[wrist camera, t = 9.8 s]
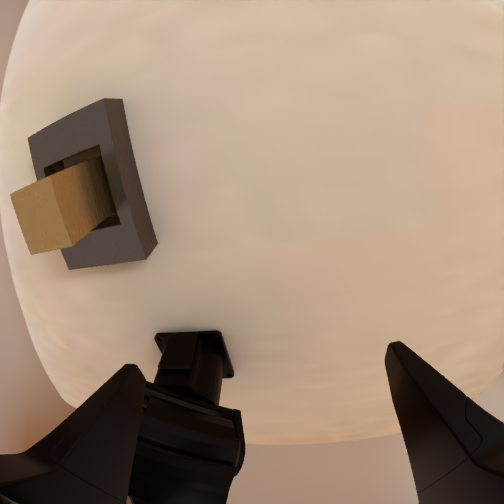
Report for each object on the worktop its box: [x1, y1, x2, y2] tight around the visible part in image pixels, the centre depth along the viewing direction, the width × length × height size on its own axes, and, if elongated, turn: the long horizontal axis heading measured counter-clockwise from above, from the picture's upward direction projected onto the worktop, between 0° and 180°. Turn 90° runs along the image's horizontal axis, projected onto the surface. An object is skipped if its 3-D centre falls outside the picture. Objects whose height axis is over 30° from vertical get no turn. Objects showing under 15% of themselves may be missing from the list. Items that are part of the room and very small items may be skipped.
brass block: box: [10, 156, 116, 255], centre depth 15 cm, size 4×4×7 cm
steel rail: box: [28, 98, 158, 270], centre depth 17 cm, size 11×8×2 cm
